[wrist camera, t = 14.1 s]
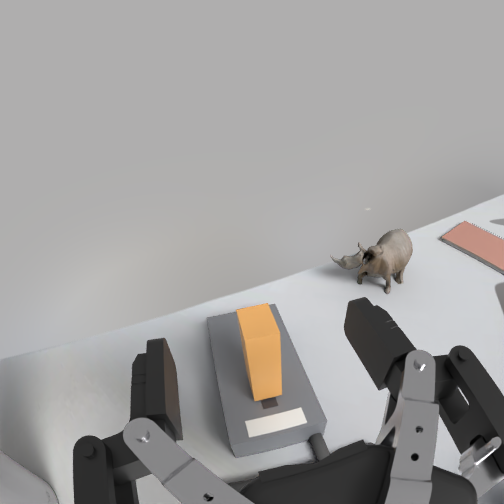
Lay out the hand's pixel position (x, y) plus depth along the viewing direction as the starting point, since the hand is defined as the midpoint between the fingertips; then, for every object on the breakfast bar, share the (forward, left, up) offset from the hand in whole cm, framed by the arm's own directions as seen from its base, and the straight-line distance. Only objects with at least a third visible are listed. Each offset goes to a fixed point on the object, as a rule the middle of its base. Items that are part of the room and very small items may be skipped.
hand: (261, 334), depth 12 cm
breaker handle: (+1, +10, -19) cm, 22 cm away
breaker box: (+2, +14, -23) cm, 27 cm away
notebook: (+63, +24, -24) cm, 72 cm away
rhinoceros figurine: (+27, +28, -24) cm, 45 cm away
